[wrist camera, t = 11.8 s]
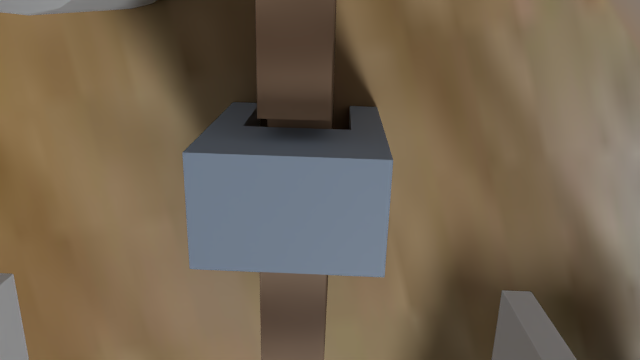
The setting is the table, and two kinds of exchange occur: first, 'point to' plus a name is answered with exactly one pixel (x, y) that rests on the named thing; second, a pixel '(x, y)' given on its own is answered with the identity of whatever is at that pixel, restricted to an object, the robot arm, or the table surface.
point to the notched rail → (294, 112)
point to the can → (66, 6)
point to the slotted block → (289, 196)
